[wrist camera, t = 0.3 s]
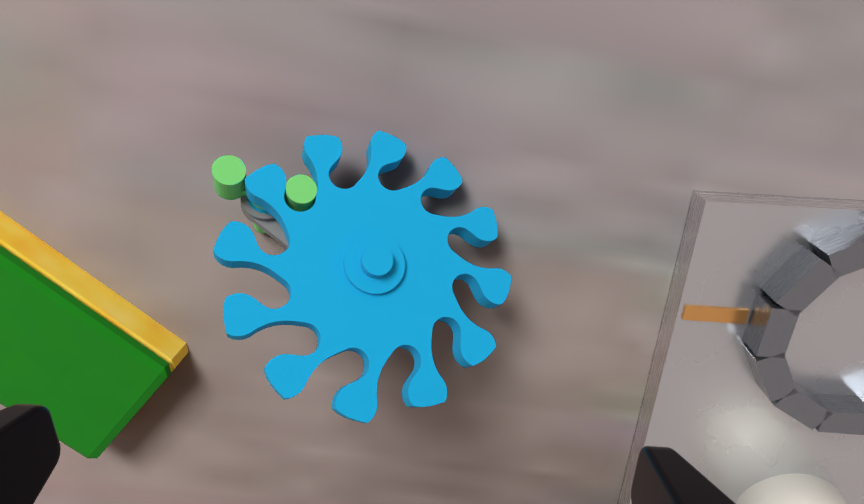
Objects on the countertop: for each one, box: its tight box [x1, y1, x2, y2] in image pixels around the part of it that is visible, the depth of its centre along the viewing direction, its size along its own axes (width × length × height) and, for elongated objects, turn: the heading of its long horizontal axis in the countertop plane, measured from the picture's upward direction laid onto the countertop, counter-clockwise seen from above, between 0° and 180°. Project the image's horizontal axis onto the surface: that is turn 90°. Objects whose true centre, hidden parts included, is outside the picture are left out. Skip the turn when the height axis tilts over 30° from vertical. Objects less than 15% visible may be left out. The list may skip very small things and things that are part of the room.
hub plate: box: [618, 191, 864, 504], centre depth 23 cm, size 18×14×2 cm
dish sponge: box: [0, 211, 188, 458], centre depth 24 cm, size 7×14×2 cm, turn 48°
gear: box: [212, 130, 512, 423], centre depth 20 cm, size 11×6×10 cm
